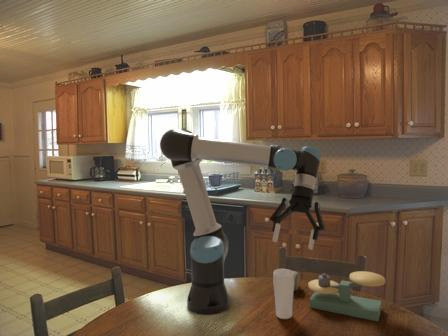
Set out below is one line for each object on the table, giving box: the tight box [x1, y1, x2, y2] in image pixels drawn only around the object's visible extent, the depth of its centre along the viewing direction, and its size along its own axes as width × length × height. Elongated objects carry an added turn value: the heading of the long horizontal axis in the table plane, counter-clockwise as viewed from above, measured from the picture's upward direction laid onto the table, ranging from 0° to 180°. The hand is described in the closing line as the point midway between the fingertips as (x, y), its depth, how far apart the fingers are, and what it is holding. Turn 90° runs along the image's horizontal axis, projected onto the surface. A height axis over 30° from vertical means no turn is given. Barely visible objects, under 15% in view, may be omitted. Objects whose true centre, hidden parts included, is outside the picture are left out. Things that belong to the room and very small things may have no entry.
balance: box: [307, 270, 386, 322], centre depth 121 cm, size 25×11×12 cm, turn 62°
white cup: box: [272, 268, 294, 320], centre depth 117 cm, size 7×7×15 cm
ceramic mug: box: [279, 268, 301, 291], centre depth 140 cm, size 11×8×8 cm
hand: (291, 245), depth 125 cm, fingers open, 13 cm apart
